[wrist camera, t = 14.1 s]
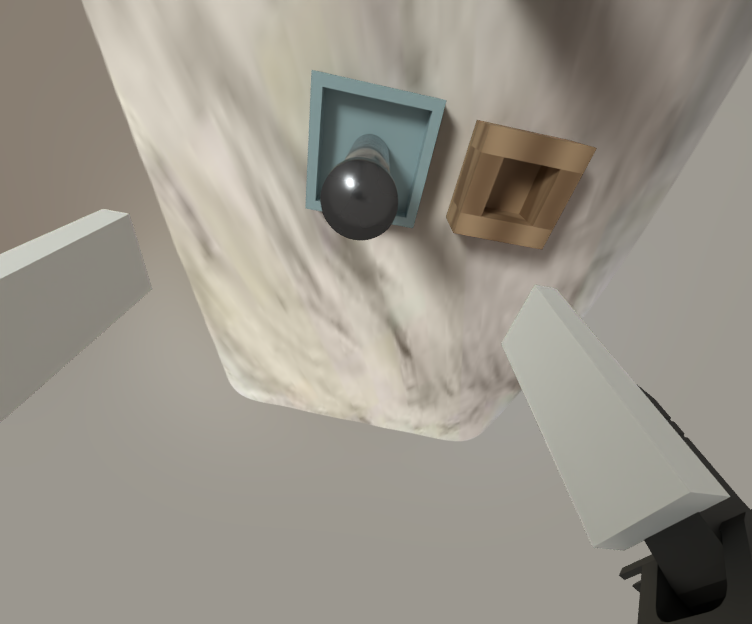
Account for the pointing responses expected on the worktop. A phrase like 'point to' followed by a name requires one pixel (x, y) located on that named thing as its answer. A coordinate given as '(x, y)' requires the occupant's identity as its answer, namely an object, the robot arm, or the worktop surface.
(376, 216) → the steel pin
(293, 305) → the worktop surface
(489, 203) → the socket block
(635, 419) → the robot arm
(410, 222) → the tray
